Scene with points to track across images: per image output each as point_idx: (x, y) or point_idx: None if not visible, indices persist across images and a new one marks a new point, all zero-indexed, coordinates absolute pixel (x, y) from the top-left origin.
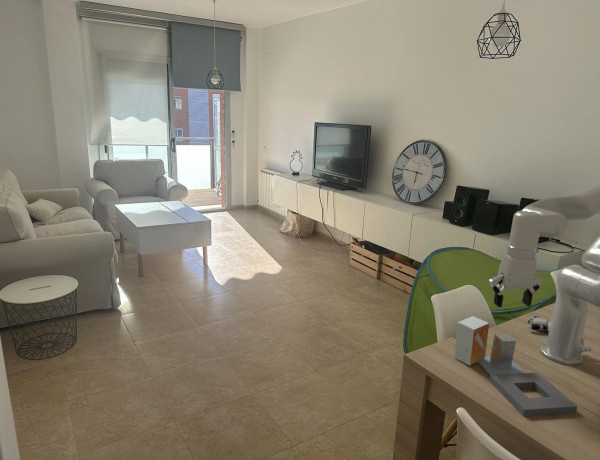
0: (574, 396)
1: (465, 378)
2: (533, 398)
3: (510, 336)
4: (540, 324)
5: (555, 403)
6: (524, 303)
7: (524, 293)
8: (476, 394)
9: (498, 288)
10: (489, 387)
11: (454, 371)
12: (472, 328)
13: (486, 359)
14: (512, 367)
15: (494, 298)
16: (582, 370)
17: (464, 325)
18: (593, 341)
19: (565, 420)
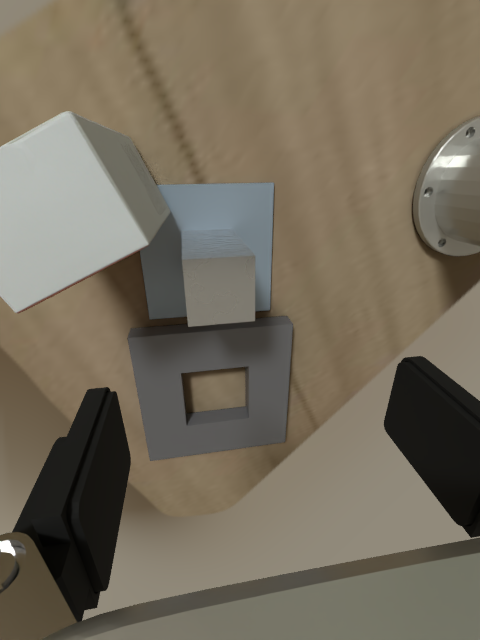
0: (324, 382)
1: (52, 318)
2: (198, 426)
3: (253, 283)
4: None
5: (241, 437)
6: (394, 390)
7: (473, 439)
8: (62, 386)
9: (26, 631)
10: (116, 357)
11: None
12: (8, 298)
13: (177, 214)
14: None
15: (43, 474)
16: (449, 279)
17: None
18: None
19: (238, 450)
